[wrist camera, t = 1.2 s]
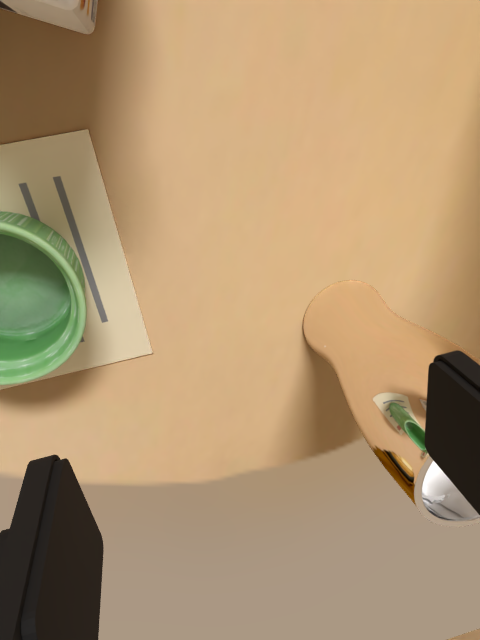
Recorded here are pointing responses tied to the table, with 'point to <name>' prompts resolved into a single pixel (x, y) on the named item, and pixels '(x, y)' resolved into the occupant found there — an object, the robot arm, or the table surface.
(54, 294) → the ramekin
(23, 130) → the table surface
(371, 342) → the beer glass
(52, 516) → the robot arm
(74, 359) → the letter
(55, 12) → the container
